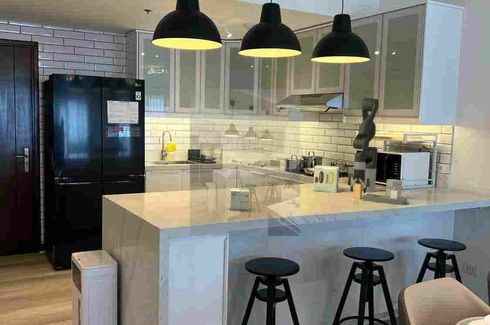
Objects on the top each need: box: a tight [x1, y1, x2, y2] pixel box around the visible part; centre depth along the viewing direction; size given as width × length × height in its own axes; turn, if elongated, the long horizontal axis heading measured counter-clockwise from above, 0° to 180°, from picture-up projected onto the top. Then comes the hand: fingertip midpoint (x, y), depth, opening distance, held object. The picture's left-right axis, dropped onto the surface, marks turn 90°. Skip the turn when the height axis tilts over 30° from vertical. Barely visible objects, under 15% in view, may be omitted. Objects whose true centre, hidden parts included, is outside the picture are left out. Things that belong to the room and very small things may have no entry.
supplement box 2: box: [385, 178, 402, 197], centre depth 332 cm, size 7×7×13 cm
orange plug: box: [353, 183, 363, 200], centre depth 325 cm, size 4×4×12 cm
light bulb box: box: [229, 188, 250, 211], centre depth 274 cm, size 11×7×11 cm, turn 92°
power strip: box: [362, 187, 408, 206], centre depth 316 cm, size 12×26×10 cm, turn 60°
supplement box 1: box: [312, 164, 340, 194], centre depth 356 cm, size 17×13×18 cm
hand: (358, 192), depth 325 cm, fingers open, 8 cm apart
